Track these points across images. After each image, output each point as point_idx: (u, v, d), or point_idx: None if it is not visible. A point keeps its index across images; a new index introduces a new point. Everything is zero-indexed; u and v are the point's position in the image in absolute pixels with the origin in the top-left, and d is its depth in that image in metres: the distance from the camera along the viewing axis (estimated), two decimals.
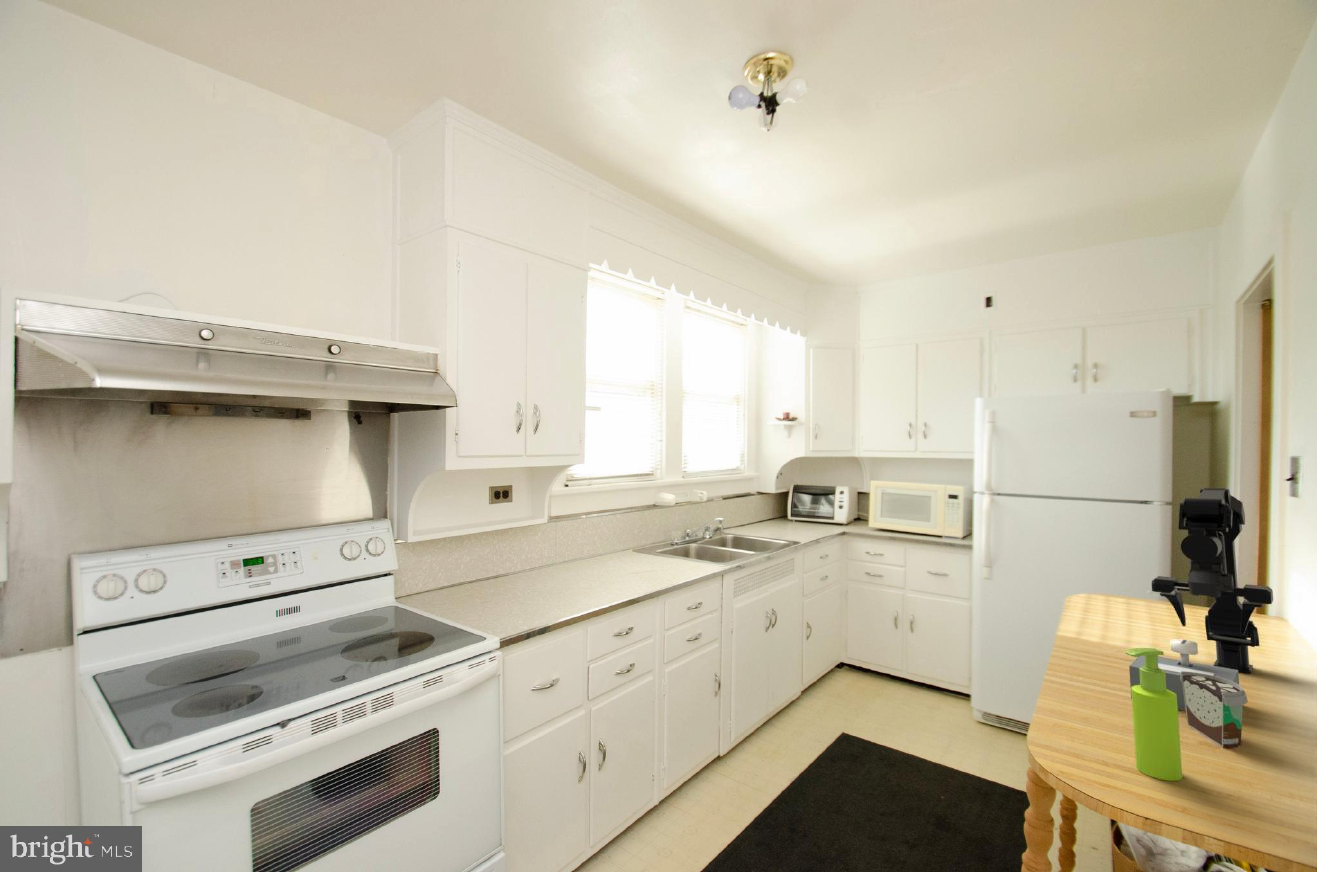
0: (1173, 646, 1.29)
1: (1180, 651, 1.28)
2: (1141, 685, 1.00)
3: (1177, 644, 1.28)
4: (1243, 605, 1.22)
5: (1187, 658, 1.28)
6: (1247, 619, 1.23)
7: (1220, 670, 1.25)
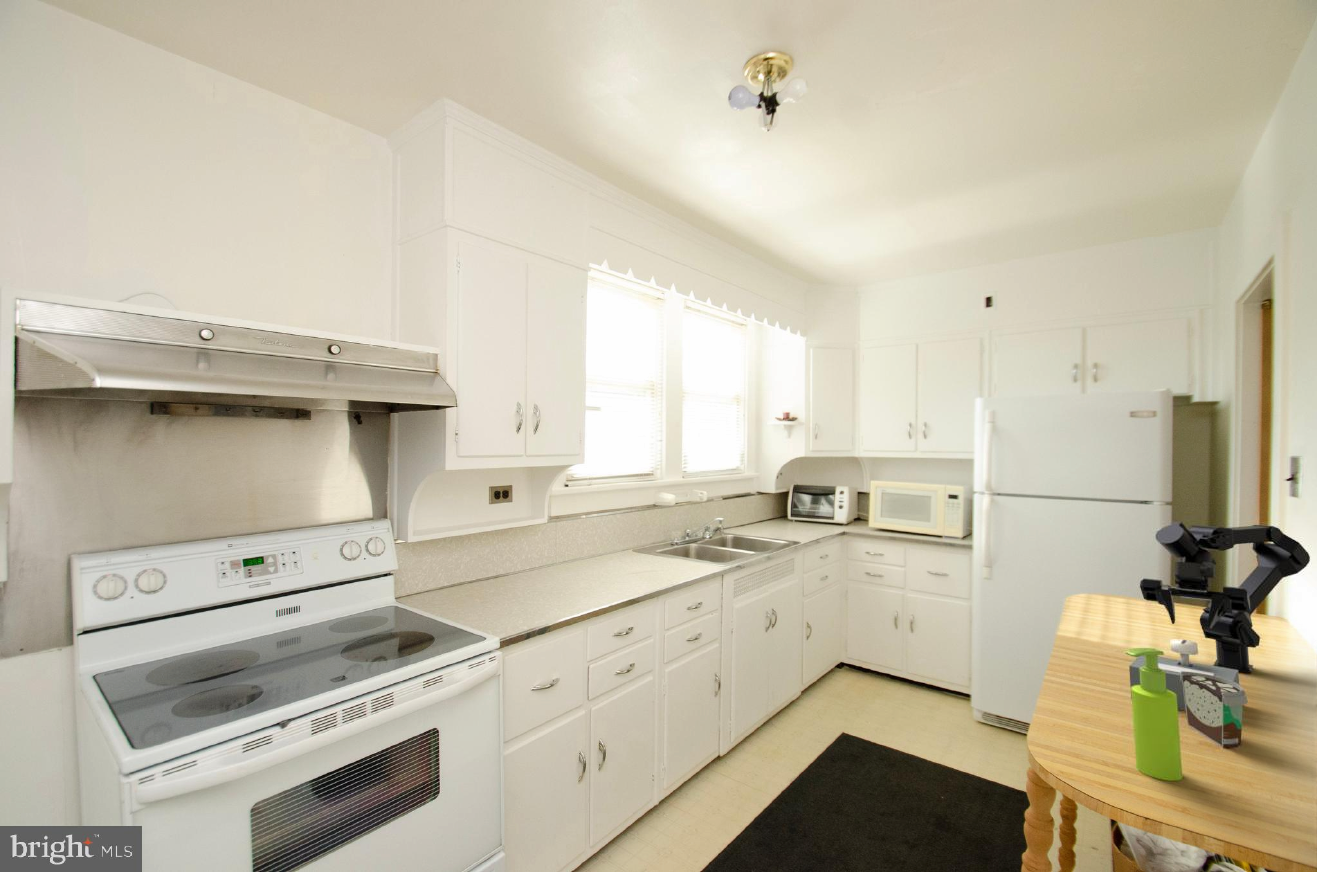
0: (1173, 646, 1.29)
1: (1180, 651, 1.28)
2: (1141, 685, 1.00)
3: (1177, 644, 1.28)
4: (1212, 596, 1.34)
5: (1187, 658, 1.28)
6: (1214, 612, 1.33)
7: (1220, 670, 1.25)
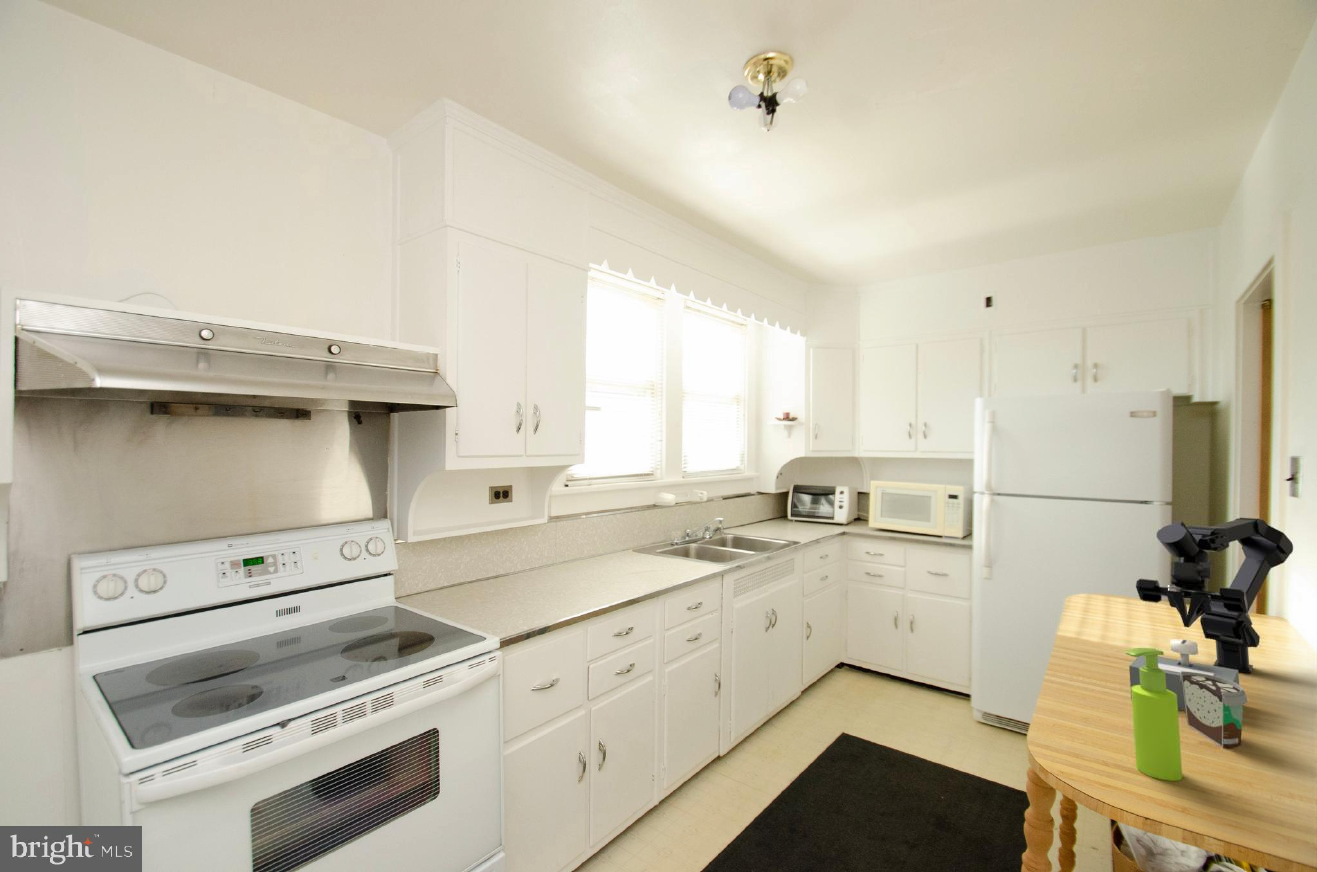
0: (1173, 646, 1.29)
1: (1180, 651, 1.28)
2: (1141, 685, 1.00)
3: (1177, 644, 1.28)
4: (1191, 595, 1.35)
5: (1187, 658, 1.28)
6: (1193, 611, 1.34)
7: (1220, 670, 1.25)
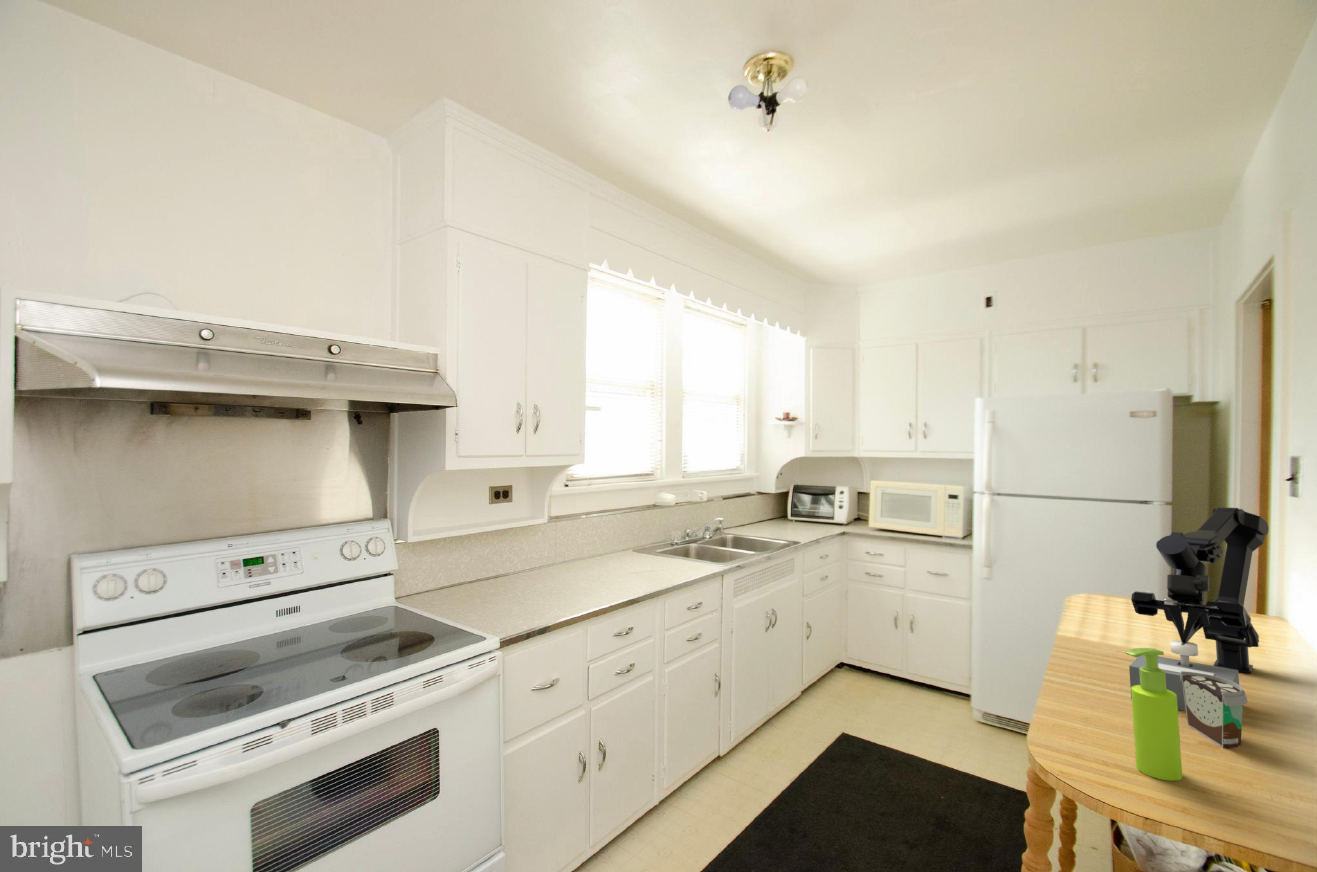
0: (1173, 648, 1.29)
1: (1180, 652, 1.28)
2: (1141, 685, 1.00)
3: (1177, 645, 1.28)
4: (1189, 609, 1.30)
5: (1187, 659, 1.28)
6: (1191, 625, 1.29)
7: (1220, 670, 1.25)
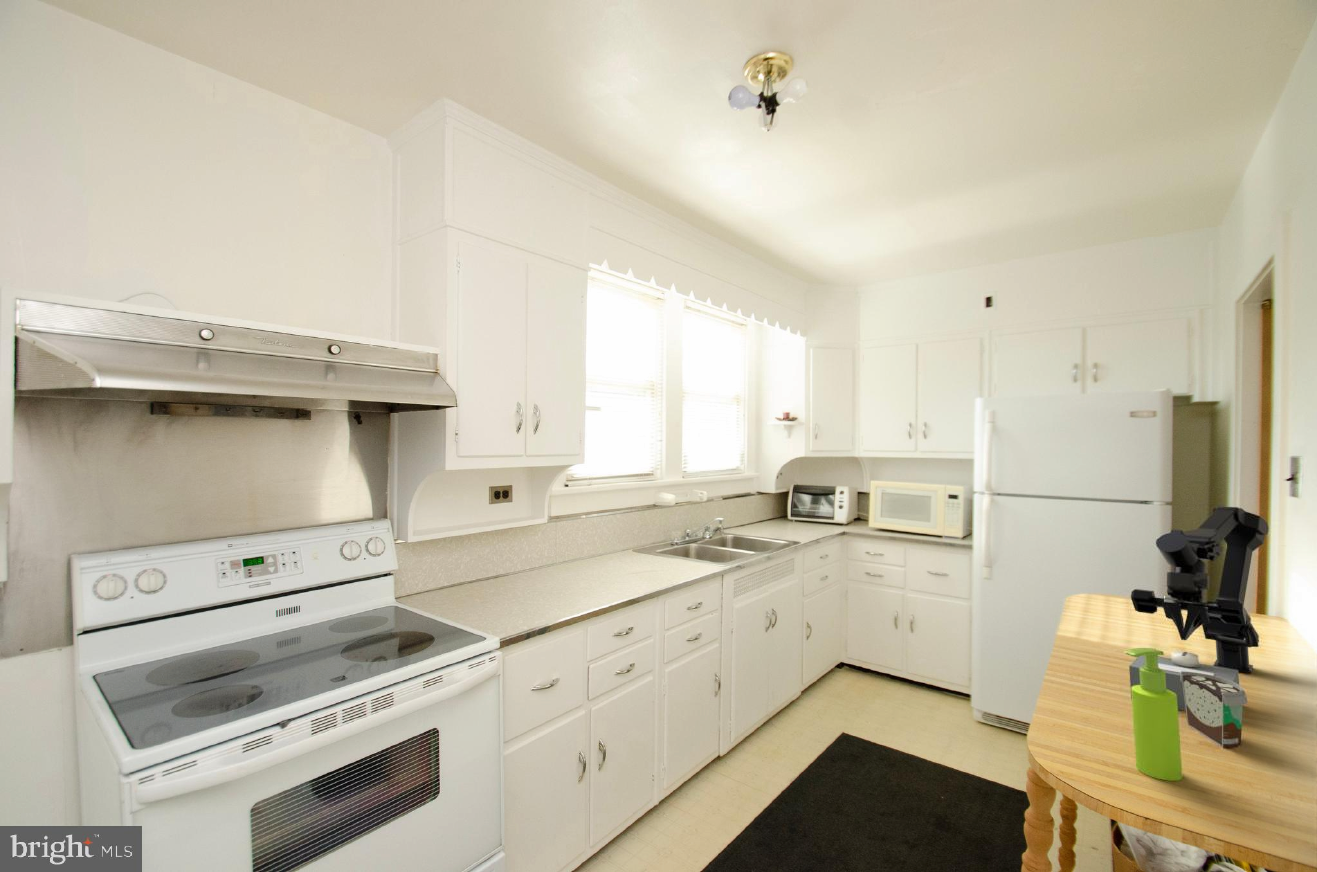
0: (1174, 659, 1.29)
1: (1181, 663, 1.27)
2: (1141, 685, 1.00)
3: (1178, 656, 1.28)
4: (1188, 607, 1.30)
5: None
6: (1190, 623, 1.29)
7: (1220, 670, 1.25)
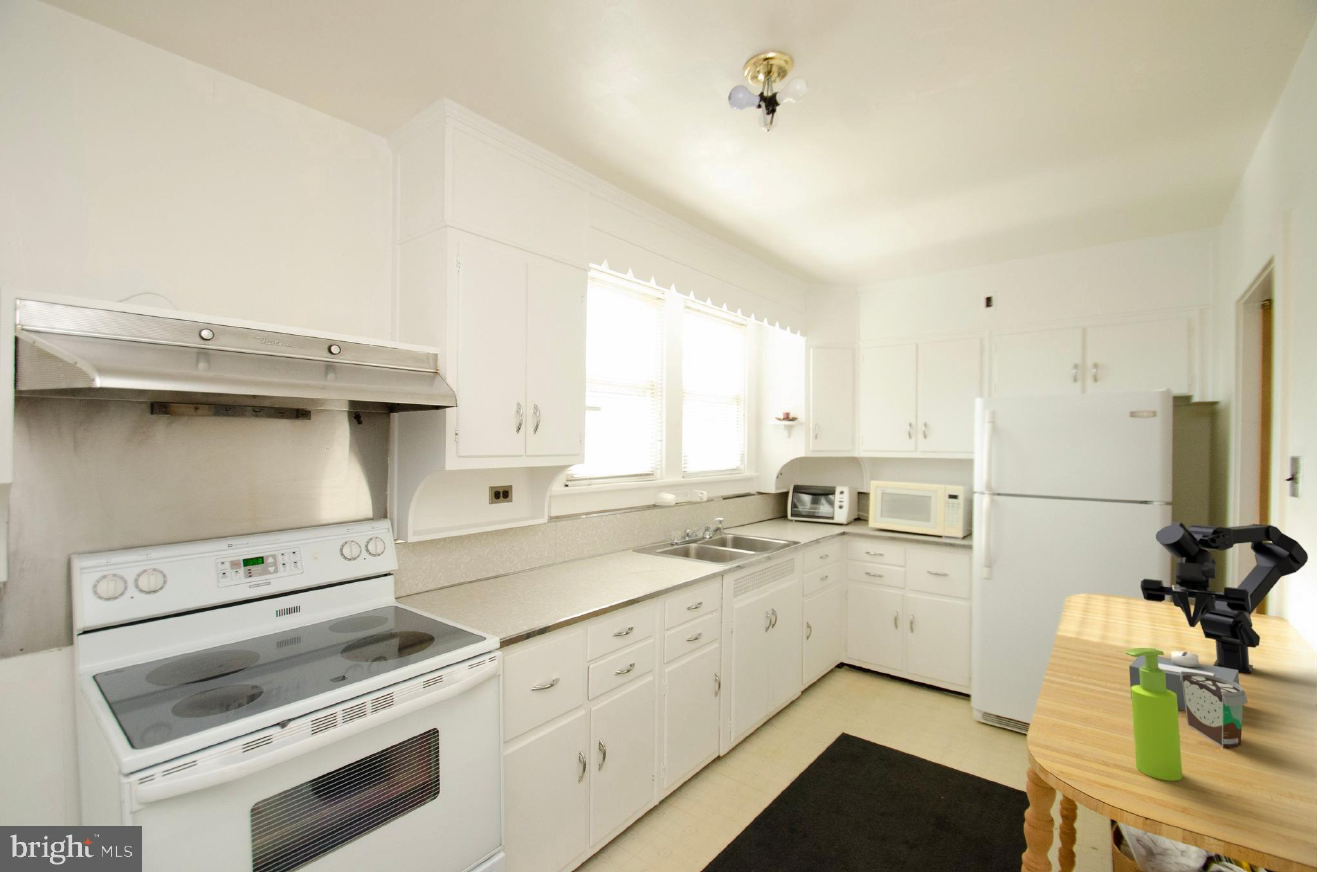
0: (1174, 659, 1.29)
1: (1181, 663, 1.27)
2: (1141, 685, 1.00)
3: (1178, 656, 1.28)
4: (1196, 595, 1.36)
5: None
6: (1198, 611, 1.35)
7: (1220, 670, 1.25)
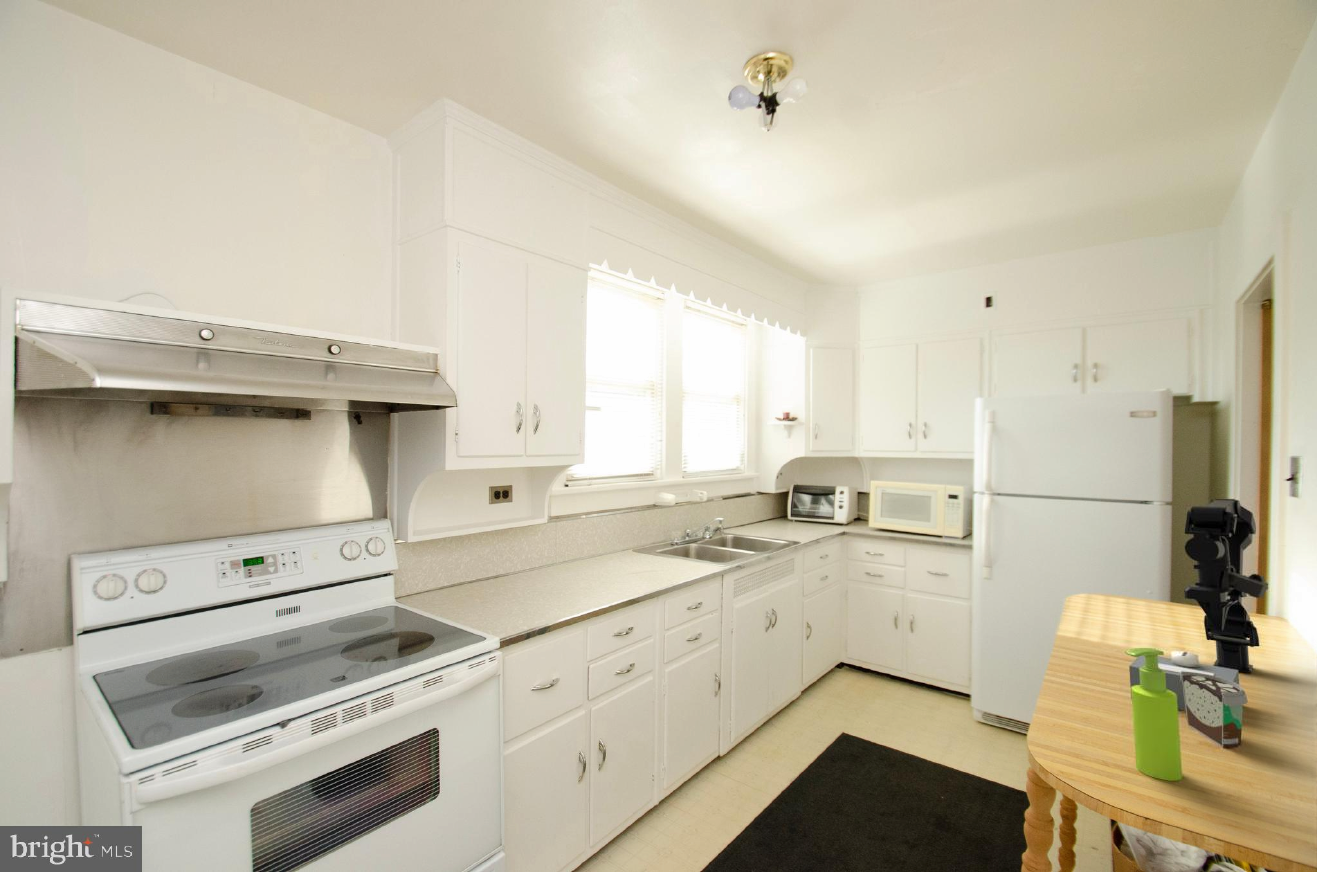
0: (1174, 659, 1.29)
1: (1181, 663, 1.27)
2: (1141, 685, 1.00)
3: (1178, 656, 1.28)
4: (1233, 602, 1.35)
5: None
6: (1226, 615, 1.36)
7: (1220, 670, 1.25)
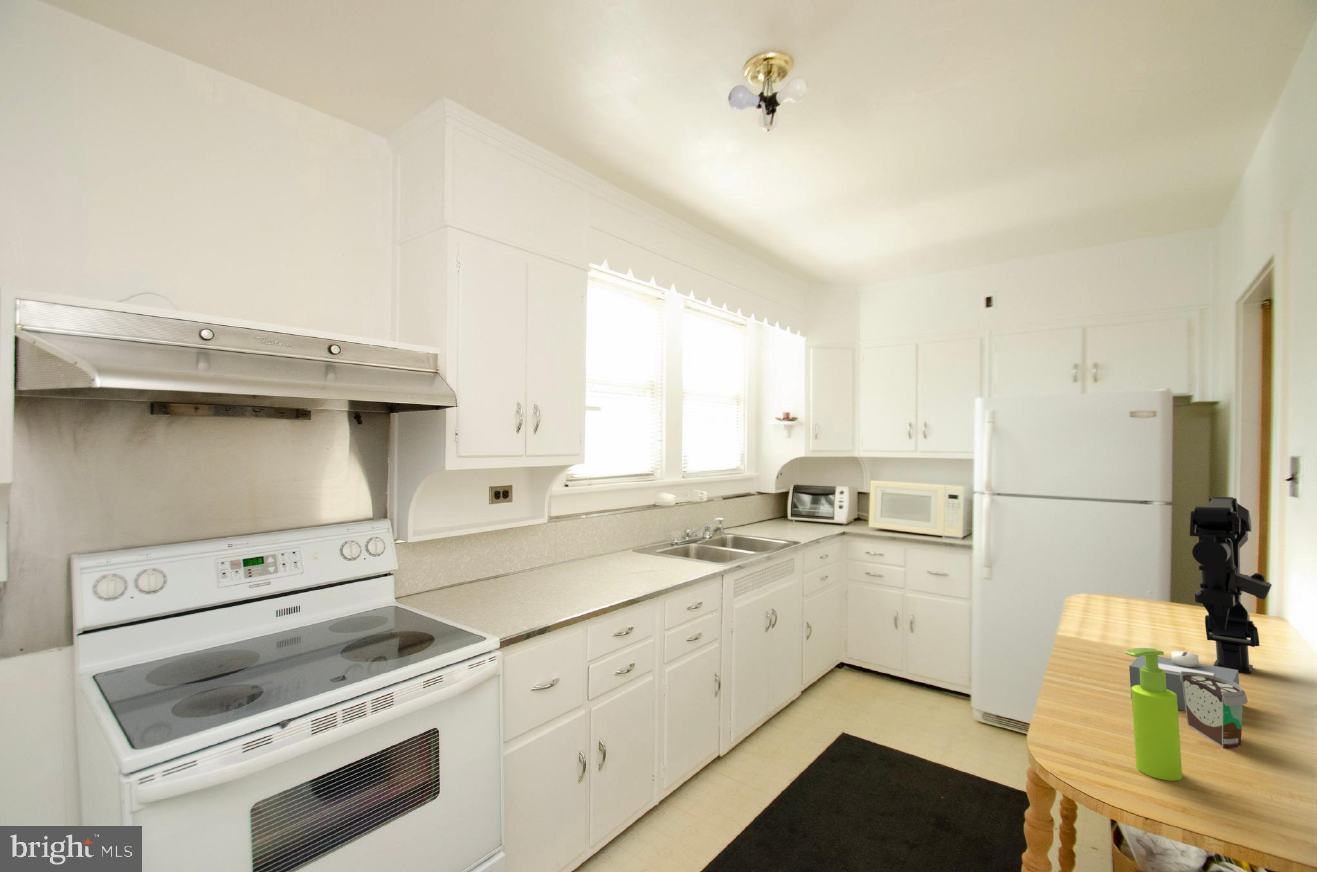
0: (1174, 659, 1.29)
1: (1181, 663, 1.27)
2: (1141, 685, 1.00)
3: (1178, 656, 1.28)
4: None
5: None
6: (1228, 614, 1.36)
7: (1220, 670, 1.25)
